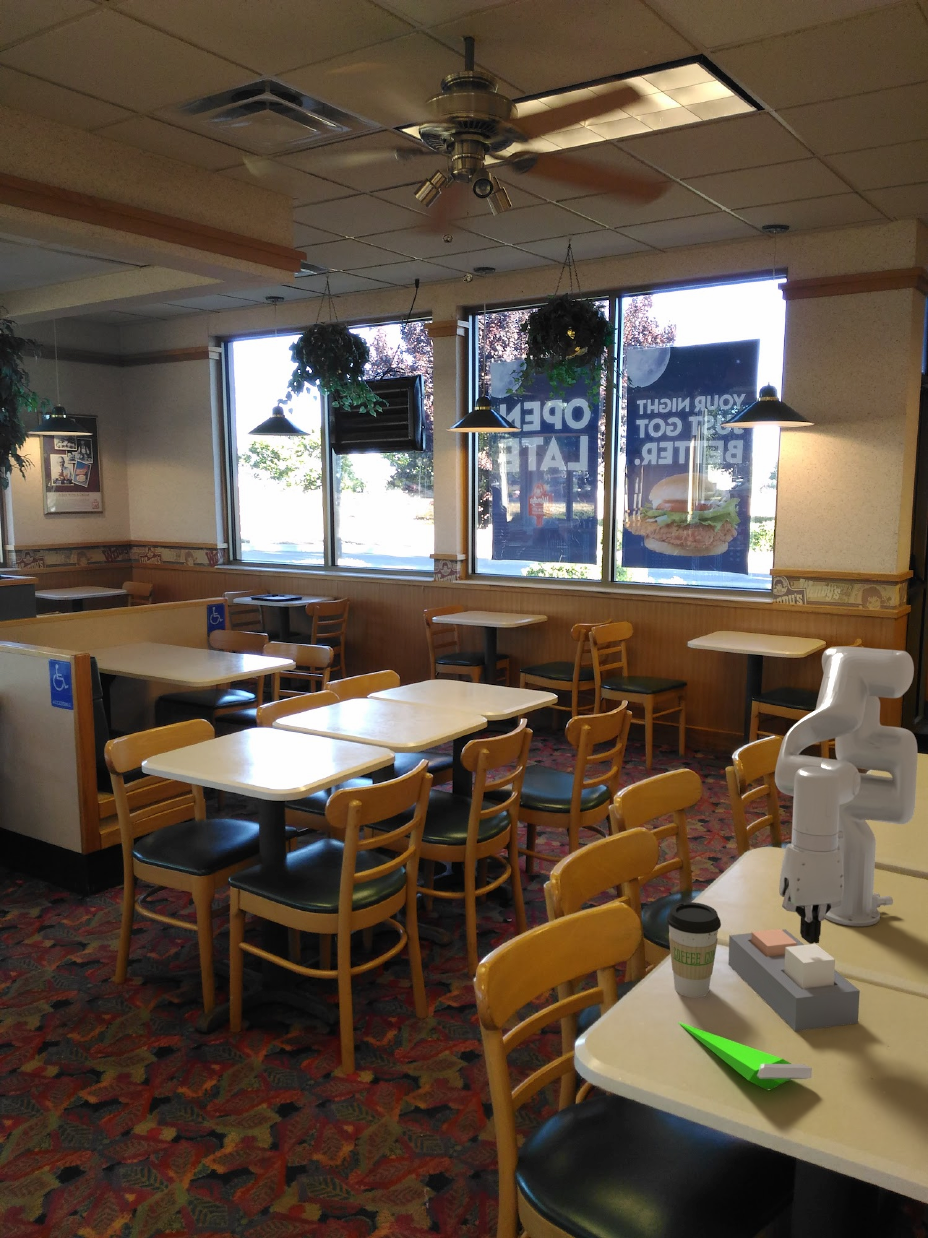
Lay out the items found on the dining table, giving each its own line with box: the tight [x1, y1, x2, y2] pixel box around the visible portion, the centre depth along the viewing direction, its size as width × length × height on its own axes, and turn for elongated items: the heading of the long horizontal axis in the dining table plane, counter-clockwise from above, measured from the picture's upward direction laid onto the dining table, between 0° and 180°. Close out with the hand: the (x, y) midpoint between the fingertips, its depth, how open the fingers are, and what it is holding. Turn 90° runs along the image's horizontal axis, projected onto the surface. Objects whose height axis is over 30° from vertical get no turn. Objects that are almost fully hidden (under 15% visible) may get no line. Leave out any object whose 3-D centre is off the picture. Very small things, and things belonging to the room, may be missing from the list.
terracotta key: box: [750, 928, 797, 957], centre depth 181 cm, size 6×6×6 cm
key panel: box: [728, 929, 860, 1032], centre depth 176 cm, size 12×24×6 cm, turn 12°
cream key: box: [784, 943, 836, 989], centre depth 169 cm, size 6×6×6 cm
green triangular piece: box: [677, 1022, 813, 1090], centre depth 156 cm, size 11×5×25 cm
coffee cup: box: [665, 901, 722, 998], centre depth 177 cm, size 10×10×15 cm
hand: (809, 940), depth 168 cm, fingers closed
